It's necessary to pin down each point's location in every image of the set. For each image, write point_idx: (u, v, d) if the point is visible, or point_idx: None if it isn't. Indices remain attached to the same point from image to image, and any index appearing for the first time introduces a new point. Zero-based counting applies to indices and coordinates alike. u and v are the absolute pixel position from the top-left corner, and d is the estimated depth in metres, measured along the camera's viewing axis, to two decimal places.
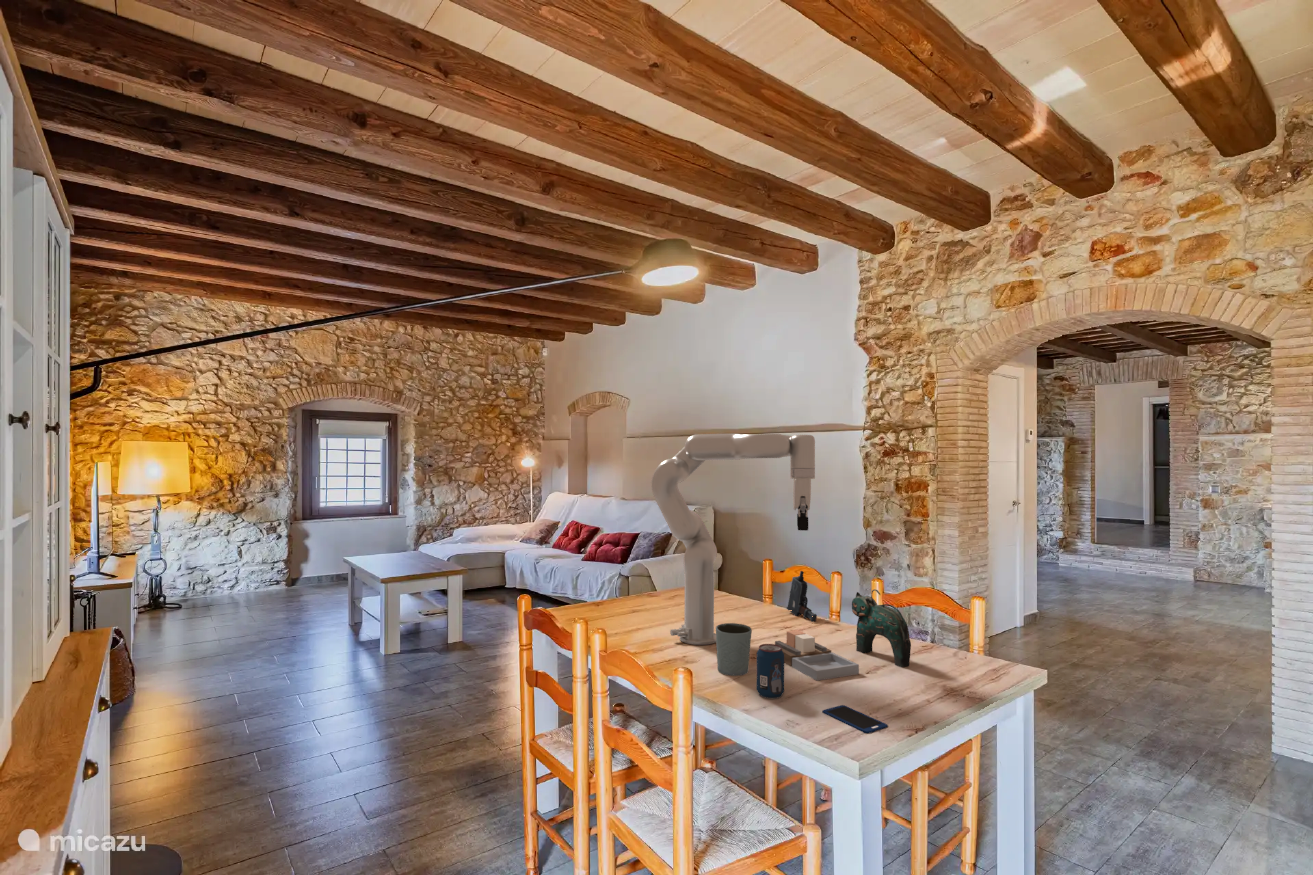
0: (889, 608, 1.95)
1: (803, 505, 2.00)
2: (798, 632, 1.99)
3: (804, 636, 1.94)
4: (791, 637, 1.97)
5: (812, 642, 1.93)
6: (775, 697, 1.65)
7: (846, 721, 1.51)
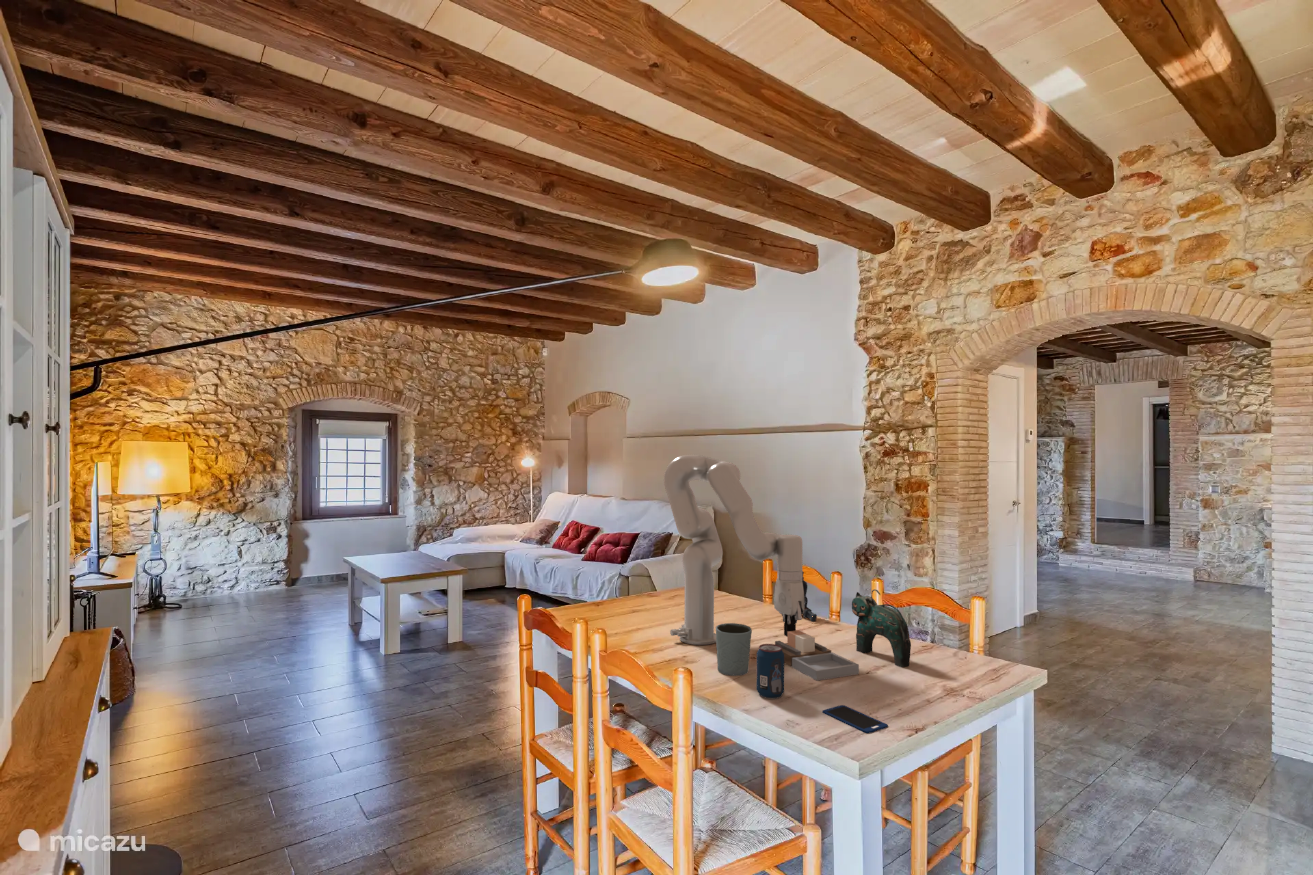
0: (889, 608, 1.95)
1: (799, 619, 1.97)
2: (799, 632, 1.98)
3: (804, 636, 1.94)
4: (792, 637, 1.97)
5: (812, 642, 1.93)
6: (775, 697, 1.65)
7: (846, 721, 1.51)
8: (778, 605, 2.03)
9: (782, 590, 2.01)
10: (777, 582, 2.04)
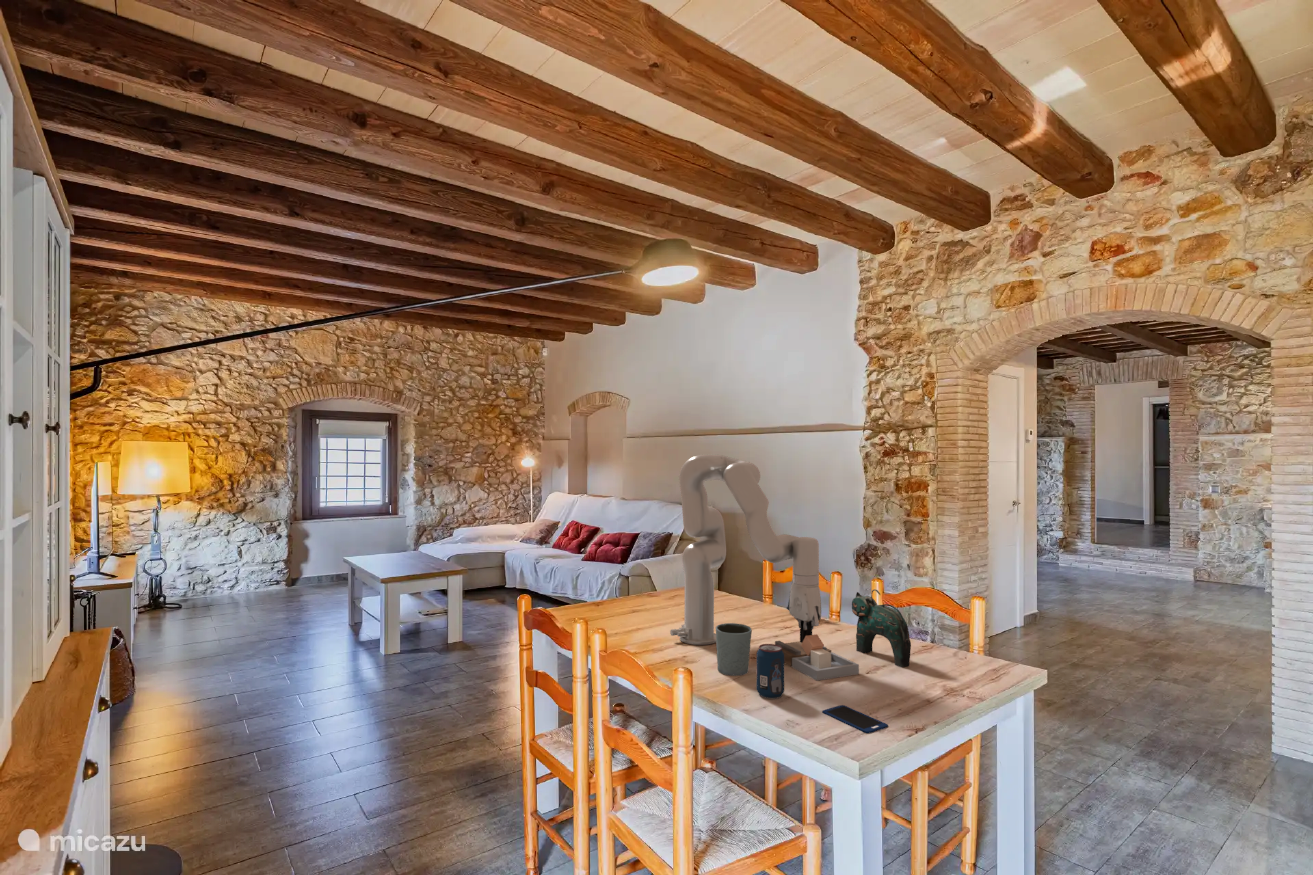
0: (889, 608, 1.95)
1: (816, 625, 1.90)
2: (817, 641, 1.90)
3: (824, 661, 1.85)
4: (809, 645, 1.90)
5: None
6: (775, 697, 1.65)
7: (846, 721, 1.51)
8: (794, 610, 1.95)
9: (798, 595, 1.93)
10: (792, 586, 1.96)
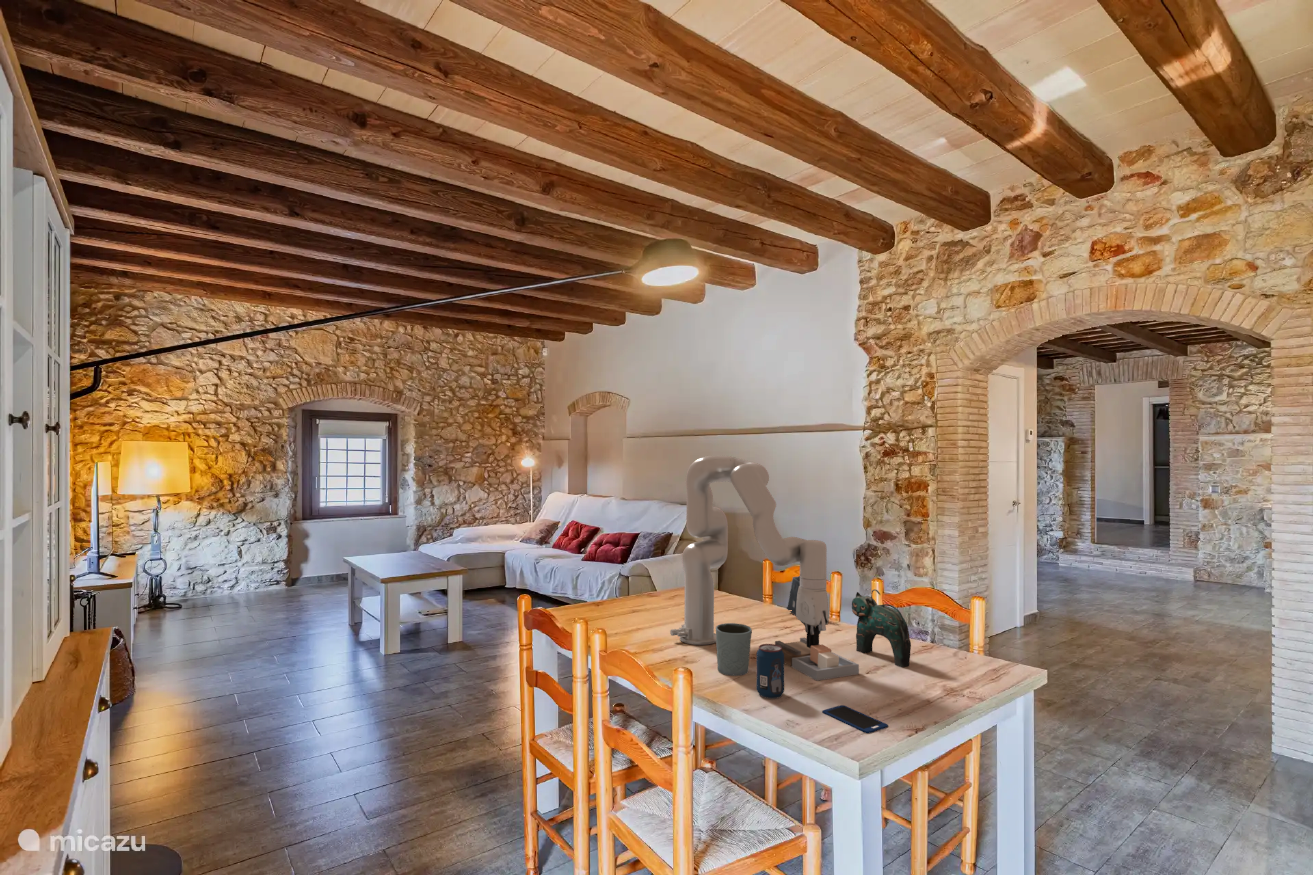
0: (889, 608, 1.95)
1: (823, 630, 1.86)
2: (823, 647, 1.88)
3: (832, 664, 1.82)
4: (816, 653, 1.86)
5: None
6: (775, 697, 1.65)
7: (846, 721, 1.51)
8: (800, 615, 1.92)
9: (805, 599, 1.90)
10: (799, 590, 1.93)
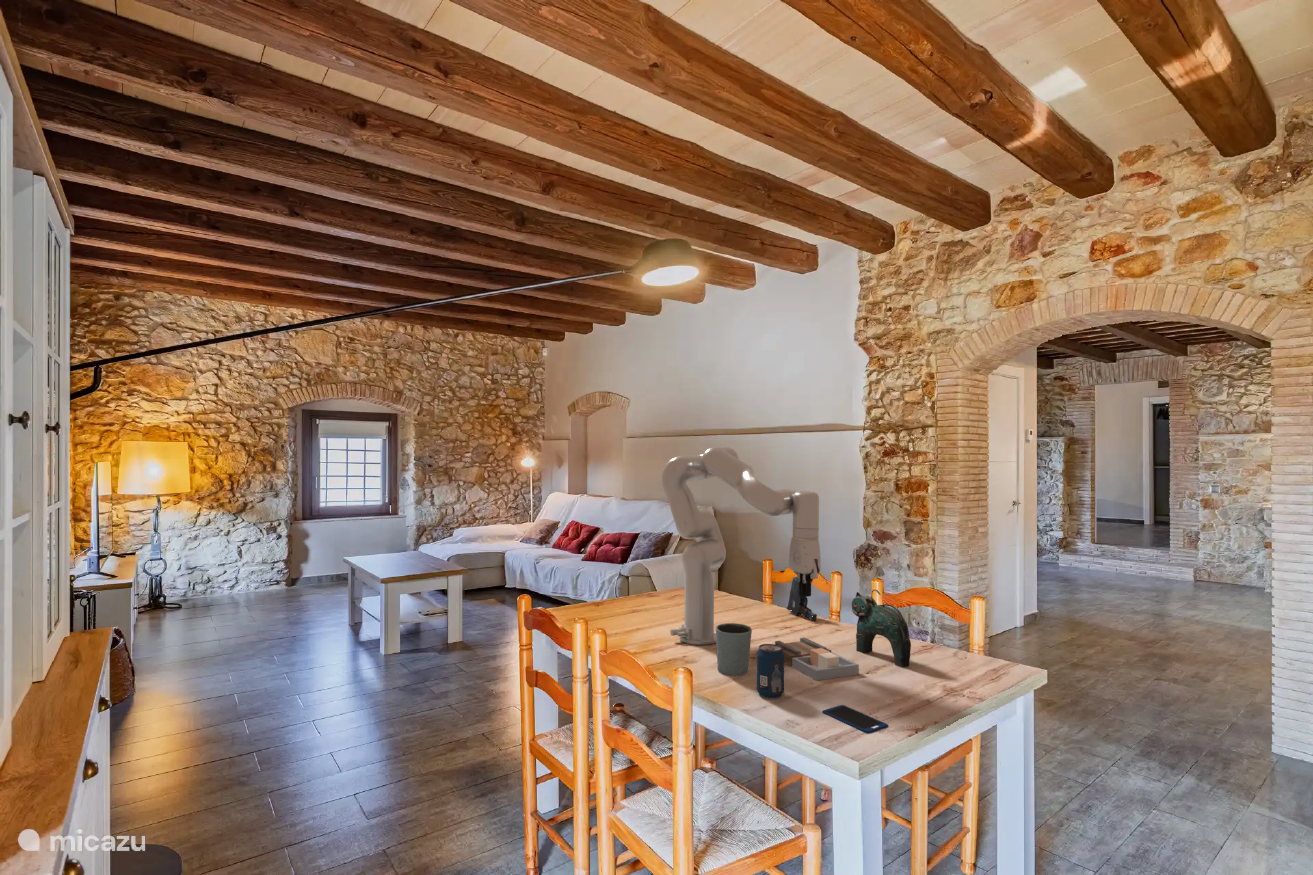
0: (889, 608, 1.95)
1: (815, 578, 1.90)
2: (822, 651, 1.88)
3: (832, 665, 1.82)
4: (815, 656, 1.87)
5: None
6: (775, 697, 1.65)
7: (846, 721, 1.51)
8: (793, 564, 1.95)
9: (797, 548, 1.93)
10: (792, 540, 1.96)
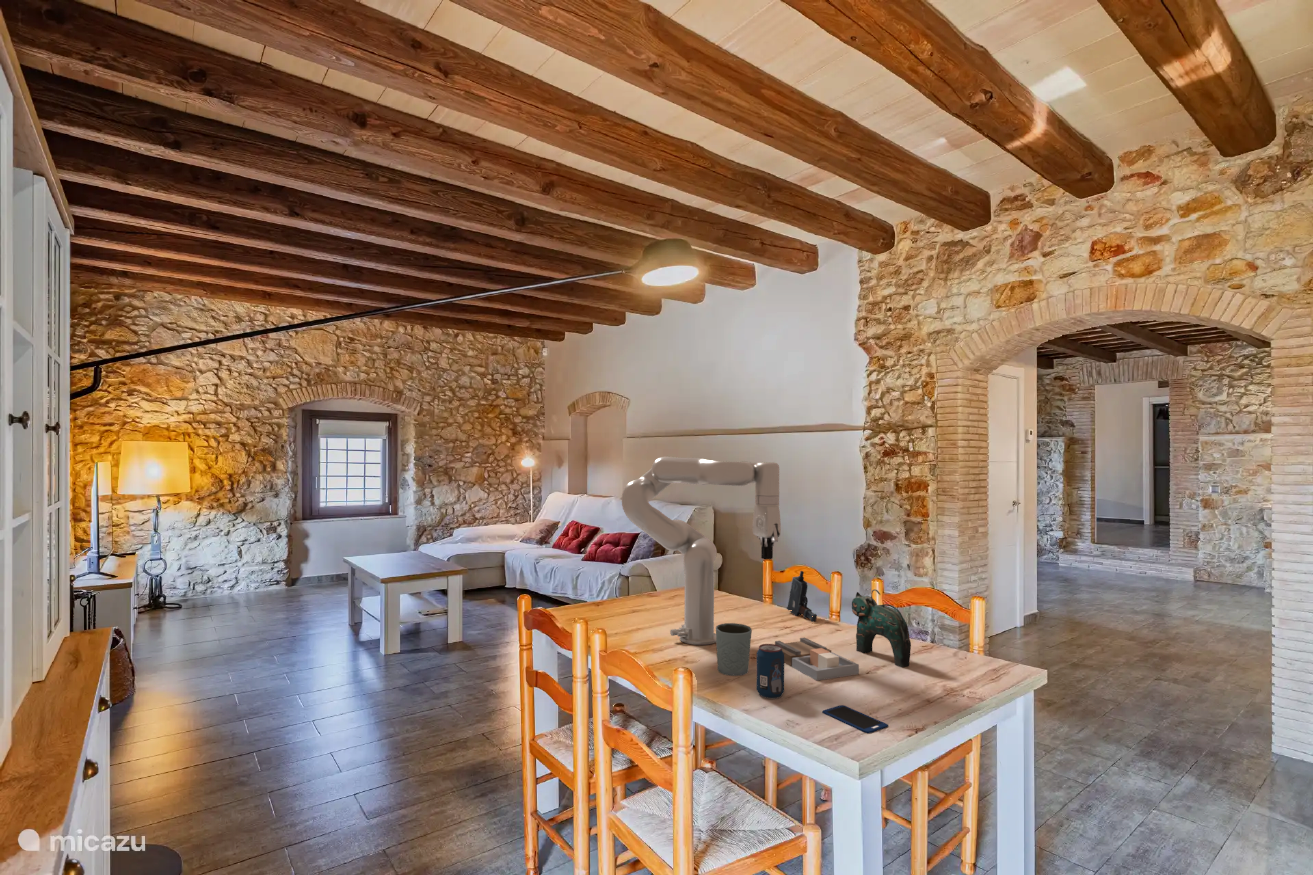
0: (889, 608, 1.95)
1: (776, 541, 2.06)
2: (822, 651, 1.88)
3: (832, 665, 1.82)
4: (815, 656, 1.87)
5: None
6: (775, 697, 1.65)
7: (846, 721, 1.51)
8: (756, 529, 2.11)
9: (759, 514, 2.09)
10: (755, 508, 2.12)
